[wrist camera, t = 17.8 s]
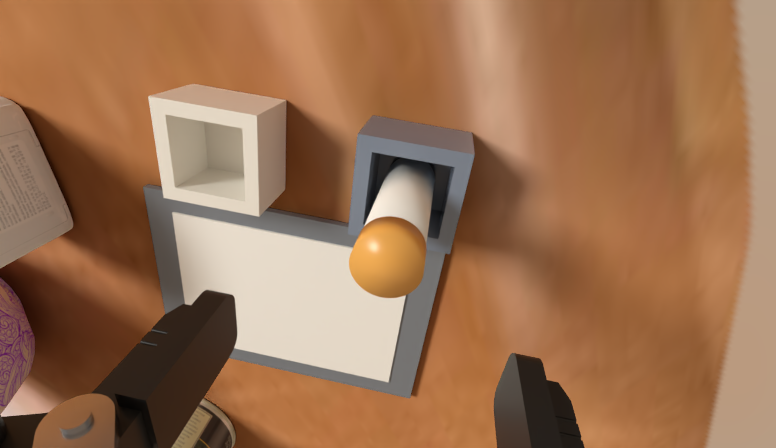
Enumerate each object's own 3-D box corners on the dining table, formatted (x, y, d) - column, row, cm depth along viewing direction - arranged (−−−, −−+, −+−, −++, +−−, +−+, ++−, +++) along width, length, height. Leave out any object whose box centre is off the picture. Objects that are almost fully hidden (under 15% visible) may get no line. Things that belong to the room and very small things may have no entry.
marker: (390, 147, 24) (351, 228, 15) (440, 155, 23) (429, 241, 15) (385, 192, 25) (346, 290, 16) (432, 200, 25) (417, 304, 16)
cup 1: (193, 83, 24) (148, 96, 21) (286, 100, 24) (256, 115, 20) (201, 173, 27) (163, 197, 23) (285, 189, 26) (259, 216, 23)
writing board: (148, 184, 28) (141, 187, 27) (447, 242, 26) (446, 247, 26) (174, 340, 35) (169, 346, 35) (410, 393, 34) (409, 399, 33)
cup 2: (372, 115, 23) (357, 133, 20) (472, 132, 23) (474, 154, 19) (362, 204, 26) (347, 234, 23) (450, 221, 26) (449, 254, 22)
